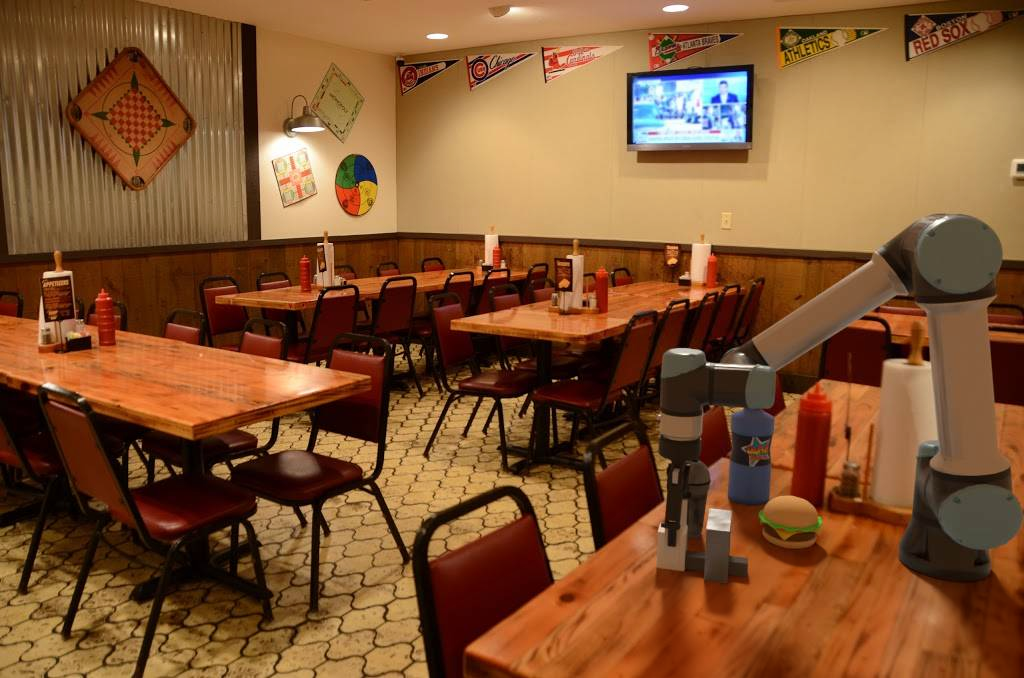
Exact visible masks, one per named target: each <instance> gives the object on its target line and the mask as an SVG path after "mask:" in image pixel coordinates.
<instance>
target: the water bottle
mask: <svg viewBox="0 0 1024 678" xmlns="http://www.w3.org/2000/svg"><path fill="white" fill-rule="evenodd" d="M775 419H776V418H775V417H774V415H771V414H769V413H768V412H766V411H764V408H762V409H750V408H743V409H740V410H738V411H735V412H733V413H731V415H730V426H729V428H730V431H731V432H730V433H731V436H730V437H731V444H732V446H731V451H730V457H729V461H728V462H729V464H728V480H727V481H728V483H727V498H728V499H729V500H730V501H732V502H734V503H736V504H739V505H745V506H763V505H766V504H767V503H768V501H770V495H771V493H770V492H771V481H772V480H771V476H772V458H771V447H772V442H773V441H772V440H773V436H774V433H775Z"/></svg>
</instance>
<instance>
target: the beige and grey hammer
mask: <svg viewBox="0 0 1024 678" xmlns="http://www.w3.org/2000/svg"><path fill="white" fill-rule="evenodd" d="M661 523H663V522H660V523H659V526H658V529H657V542H656V568H657V569H662V570H669V571H670V570H671V571H680V572H685V570H690V571H697V572H698V571H699V572H704V569H705V552H702V551H694V550H687V549H688V538H687V531H688V525H681V539H680V562H679V563H671V562H664V538H665V528H662V527H661ZM748 568H749V557H744V556H737V555H736V556H735V555H730V556H729V562H728V576H729V575H730V576H737V577H745V578H746V577H748V571H749V570H748Z"/></svg>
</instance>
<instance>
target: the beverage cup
mask: <svg viewBox="0 0 1024 678" xmlns="http://www.w3.org/2000/svg"><path fill="white" fill-rule="evenodd" d="M688 464H689V465H691V468H690V474H689V481H688V487H689V490H688V492H689V493H691V499H689V498H684V499H687V500H688V502H687V524H686V525H688V531H687V539H699V538H701V537H702V532H703V528H704V523H705V517H706V516H705V515H706V506H707V500H708V492H709V491H710V486H711V482H712V480H711V473H710V470H709V468H708V466H707V465H706V464H705V463H704V462H703V461H701V460H699V459H696V460H693V461H688Z"/></svg>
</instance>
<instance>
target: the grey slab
mask: <svg viewBox="0 0 1024 678" xmlns="http://www.w3.org/2000/svg"><path fill="white" fill-rule="evenodd" d="M732 516H733V515H732V510H729V509H720V508H712V507H711V508H710V507H709V509H708V516H707V517H708V518H707V522H706V528H705V529H706V530H705V549H704V550H705V552H704V553H705V569H704V571H703V573H704V574H703V581H704V582H710V583H712V582H713V583H719V584H726V585H728V578H729V575H728V562H729V556H731V555H730V554H731V552H730V551H731V533H732Z"/></svg>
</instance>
